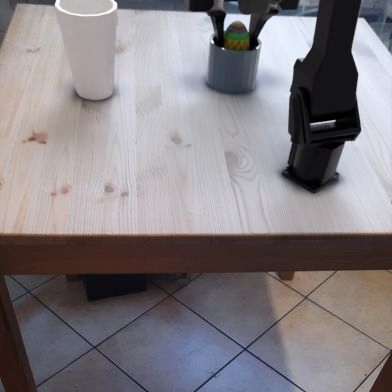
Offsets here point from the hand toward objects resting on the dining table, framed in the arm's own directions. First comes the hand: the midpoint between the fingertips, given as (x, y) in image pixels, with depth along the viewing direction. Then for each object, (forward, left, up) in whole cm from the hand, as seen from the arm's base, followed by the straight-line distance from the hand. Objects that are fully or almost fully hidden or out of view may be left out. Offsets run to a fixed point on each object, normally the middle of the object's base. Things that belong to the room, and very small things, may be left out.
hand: (234, 52), depth 86 cm
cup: (0, 0, -5) cm, 5 cm away
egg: (0, 0, -1) cm, 1 cm away
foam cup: (+12, +22, -5) cm, 26 cm away
